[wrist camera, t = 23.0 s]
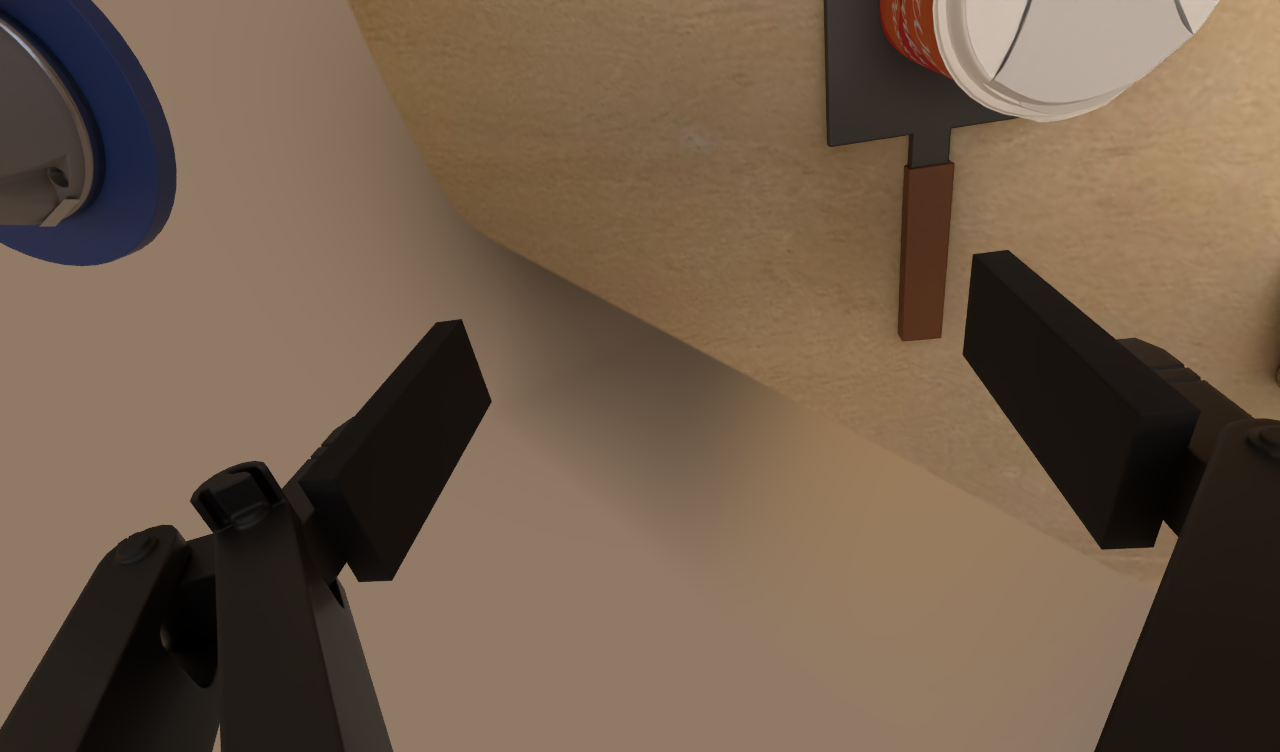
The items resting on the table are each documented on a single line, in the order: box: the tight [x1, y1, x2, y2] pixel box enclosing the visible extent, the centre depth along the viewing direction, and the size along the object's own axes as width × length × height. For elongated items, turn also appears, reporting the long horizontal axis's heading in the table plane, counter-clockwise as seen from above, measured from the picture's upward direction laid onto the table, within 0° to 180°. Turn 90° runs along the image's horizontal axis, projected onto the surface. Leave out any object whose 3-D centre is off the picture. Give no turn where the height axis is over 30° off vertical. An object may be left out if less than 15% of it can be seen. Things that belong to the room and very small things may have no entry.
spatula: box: [824, 0, 1021, 341], centre depth 34 cm, size 11×26×1 cm, turn 10°
